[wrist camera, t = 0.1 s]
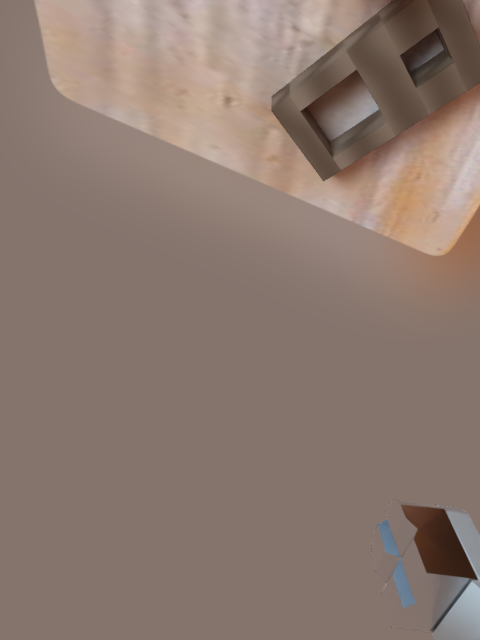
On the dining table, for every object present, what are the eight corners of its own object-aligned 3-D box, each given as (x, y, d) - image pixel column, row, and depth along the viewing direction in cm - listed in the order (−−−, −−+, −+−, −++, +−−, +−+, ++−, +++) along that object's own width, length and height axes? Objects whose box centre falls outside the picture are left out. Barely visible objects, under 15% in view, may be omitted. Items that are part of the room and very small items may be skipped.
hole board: (440, -37, 43) (451, -28, 41) (479, 62, 49) (491, 75, 47) (271, 96, 53) (271, 110, 51) (321, 165, 59) (323, 181, 57)
